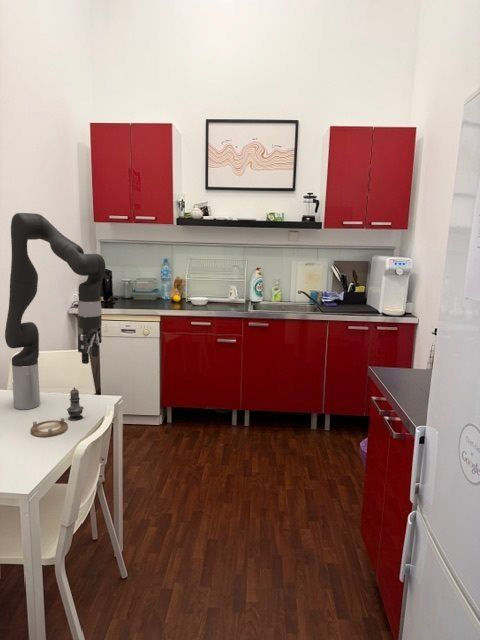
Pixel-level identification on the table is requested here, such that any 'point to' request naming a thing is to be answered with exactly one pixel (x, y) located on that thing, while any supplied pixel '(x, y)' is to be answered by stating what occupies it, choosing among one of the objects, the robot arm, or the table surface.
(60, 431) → the pin holder
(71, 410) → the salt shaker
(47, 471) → the table surface
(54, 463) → the table surface
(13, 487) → the table surface
